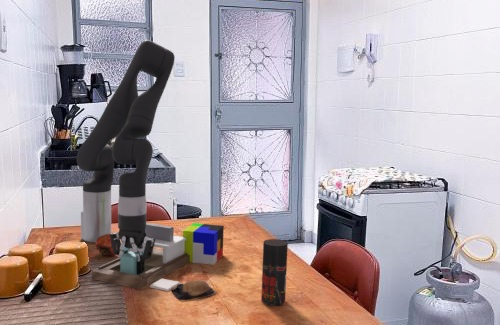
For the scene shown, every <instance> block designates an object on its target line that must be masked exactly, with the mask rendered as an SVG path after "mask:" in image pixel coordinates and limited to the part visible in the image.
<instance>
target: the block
mask: <svg viewBox="0 0 500 325" xmlns="http://www.w3.org/2000/svg"><path fill="white" fill-rule="evenodd" d="M140 256H141V255H140ZM120 272H123V273H128V274H133V275H138V276H139V275H141V274H143V273H144V271H143V273H141V274H137V273H136V272H137V259H136V255H135V254H134V252H131V251H130V252H128V253H126V254H123V255H121V256H120Z"/></svg>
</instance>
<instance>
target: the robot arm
mask: <svg viewBox="0 0 500 325" xmlns="http://www.w3.org/2000/svg"><path fill="white" fill-rule="evenodd" d="M174 65H175V54H174V52H173V51H171V50H169V49H168V48H167V47H164V46H162V45H160V44H159V43H157V42H154V41H152V40H150V39H145V40H143V41H142V42H141V43H140V44H139V46H138V47H137V49H136V52H135V53H134V55H133V57H132V58H131V61H130V64H129V65H128V67H127V70H126V72H125V74H124V76H123V78H122V80H121V81H120V83H119V84H118V86H117V88H116V89H115V91H114V92H113V94H112V96H111V98H110V99H109V101H108V103H107V105H106V106H105V108H104V110H103V113H102V114H101V116H100V118H99V120H98V121H97V122H96V124H95V125H94V128H93V129H92V131H91V132H90V133H89V135H88V136H87V137H86V139H85V140H84V141H83V143H82V144H81V146H80V147H79V148H78V151H77V155H76V164H77V167H78V168H79V169H80V170H82V171H83V172H93V175H92V176H91V177H89V178H88V179H86V180H85V181H84V182H83V183H82V211H81V212H80V238H81V240H83V241H85V242H86V243H87V242H88V243H96V240H97V238H98V237H100V236H102V235H105V234H110V240H111V244H112V248H113V252H114V256H118V258H120V256H121V255H123V254H126V253H128V252H129V249H130V248H132V249H133V252H134V254H135V255H136V259H137V272H136V273H137V274H141V273H143V271H144V261H145V260H146V259H149V258H150V257H151V255H152V251H153V248H154V244H155V239H154V238H152V239H150V238H148V237H147V236H146V233H145V229H146V223H147V199H146V198H147V197H146V190H147V189H146V188H147V187H146V184H147V182H146V181H147V176H148V171H149V167H150V164H151V161H152V158H153V154H154V153H153V151H154V150H153V145H152V143H151V142H150V141H149V140H148V139H144V137H147V136H149V135H150V134H151V132H152V128H153V124H154V121H155V116H156V113H157V109H158V107H159V106H158V105H159V103H160V101H161V98H162V96H163V93H164V91H165V88H166V86H167V83H168V81H169V79H170V76H171V73H172V70H173V67H174ZM140 72H143V73H145V74H147V75H149V76H152V77H154V78H156V79H155V80H154V83H153V84H152V85H151V86H150V87H149V88H148V89H146V90H145V91H144V92H142V93H141V94H139V92H138V76H139V74H140ZM115 138H116V139H115ZM113 140H114V142H113V145H112V147H111V145H110V144H109V143H110V142H112V141H113ZM115 163H117V164H120V165H131V166H132V165H133V166H134V165H135V166H136V168H135V169H134V171H132V172H124V173H122V174H121V175H120V176H119V180H118V201H117V228H118V229H119V231H118V232H117V231H116V232H113V233H112V184H113V182H114V170H115ZM144 241H145V244H143V242H144ZM144 245H145V248H144ZM117 248H118V250H117ZM138 248H139V249H138ZM140 255H141V256H140Z"/></svg>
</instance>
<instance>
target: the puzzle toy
mask: <svg viewBox="0 0 500 325" xmlns="http://www.w3.org/2000/svg"><path fill="white" fill-rule="evenodd" d="M224 228H225V227H224V225H219V224H209V223H208V224H207V223H199V222H198V223H197V222H193V223H192V224H191V225H189V226H187V227H186V228H184V229H183V230H182V237H185V238H186V241H185V253H187V255H190V262H189V263H194V264H202V265H203V264H205V265H212V266H213V265H215V264H216V263H217V262H218V261H219V259H221V258H222V256H223V255H224V254H223V253H224Z"/></svg>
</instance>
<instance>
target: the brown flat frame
mask: <svg viewBox="0 0 500 325" xmlns="http://www.w3.org/2000/svg"><path fill="white" fill-rule="evenodd" d="M189 263H191V262H190V255H187V253H185V254H183V255H181V256H179V257H177V258H175V259H173V260H171V261H169V262H168V263H163V248H162V249H161V248H157V247H155V248H154V247H153V251H152V255H151V257H150V258H149V259H146V260H145V261H144V273H143V274H141V275H139V276H138V275H133V274H128V273H123V272H120V258H119V257H117V258H115V259H113V260H111V261H108V262H107V263H104V264H102V265H99V266H98V268H95V269H94V270H91V280H96V281H99V282H100V281H101V282H104V283H109V284H110V283H111V284H114V285H118V286H119V285H120V286H125V287H126V288H127V287H128V288H133V289H138V290H142V289H144V288H146V287H147V286H149V285H151V284H153V283H155V282H157V281H158V280H160V279H163V278H164V277H165V276H167V275H169V274H171V273H173V272H174V271H176V270H178V269H179V268H181V267H184V266H185V265H186V264H189Z"/></svg>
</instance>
